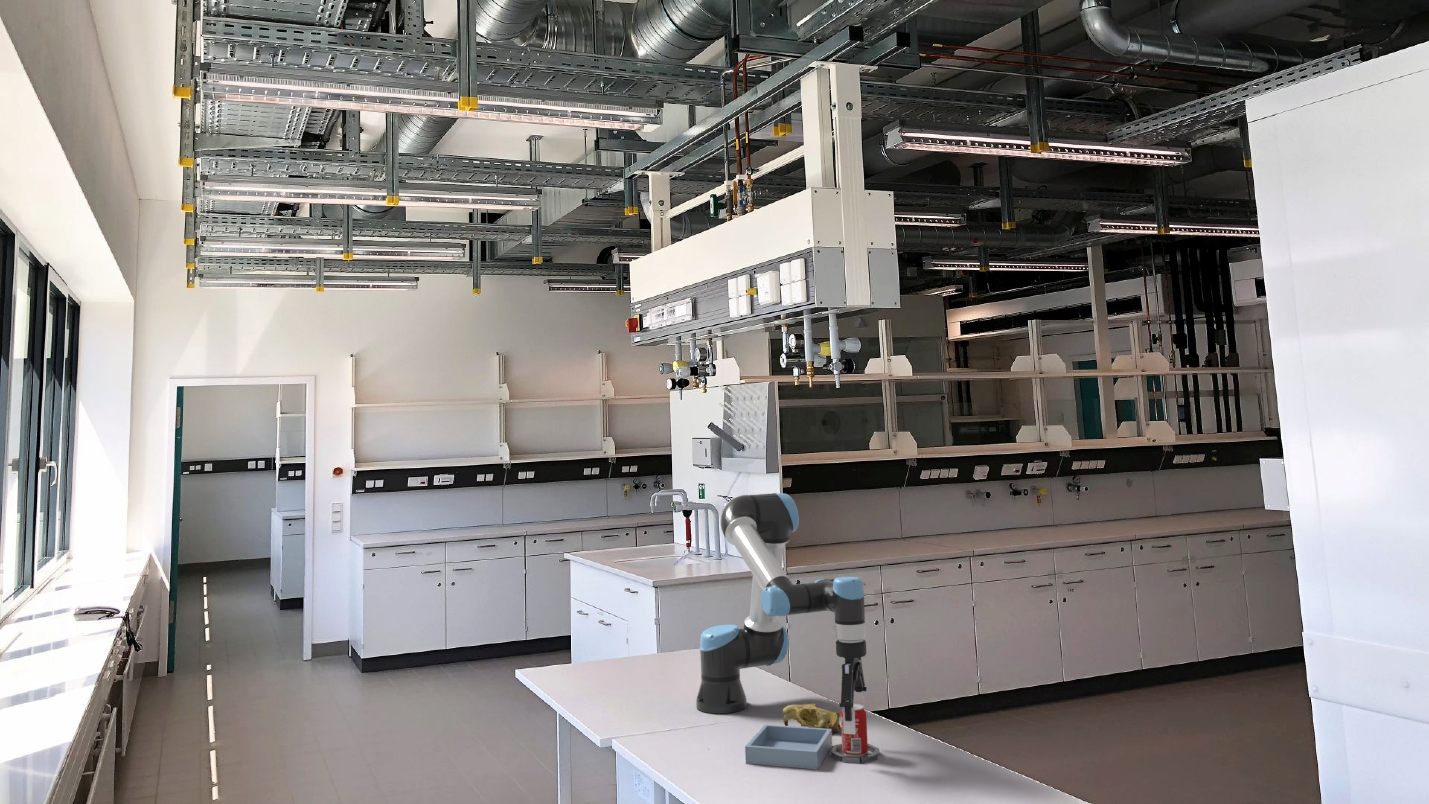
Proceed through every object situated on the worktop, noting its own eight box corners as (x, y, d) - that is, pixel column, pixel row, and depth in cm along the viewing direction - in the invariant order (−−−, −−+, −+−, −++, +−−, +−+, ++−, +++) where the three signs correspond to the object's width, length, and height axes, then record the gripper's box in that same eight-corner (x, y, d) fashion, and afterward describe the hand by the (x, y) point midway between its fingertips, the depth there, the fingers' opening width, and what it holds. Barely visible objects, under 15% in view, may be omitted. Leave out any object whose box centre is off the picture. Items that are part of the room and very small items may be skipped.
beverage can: (869, 751, 234) (867, 703, 235) (865, 760, 228) (863, 710, 229) (845, 749, 236) (843, 702, 237) (840, 758, 230) (838, 709, 231)
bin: (765, 740, 246) (764, 724, 246) (832, 745, 240) (831, 729, 240) (745, 763, 229) (745, 746, 229) (817, 769, 223) (816, 751, 223)
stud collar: (836, 745, 239) (836, 741, 239) (881, 749, 236) (881, 744, 236) (827, 760, 229) (827, 755, 229) (874, 764, 225) (874, 759, 225)
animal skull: (781, 725, 258) (781, 701, 259) (837, 724, 259) (836, 700, 259) (786, 737, 248) (786, 712, 248) (843, 736, 249) (843, 711, 249)
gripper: (845, 629, 246) (848, 711, 245) (825, 649, 223) (829, 739, 222) (873, 630, 244) (877, 712, 243) (856, 650, 220) (861, 741, 219)
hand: (854, 725), depth 232 cm, fingers open, 13 cm apart
